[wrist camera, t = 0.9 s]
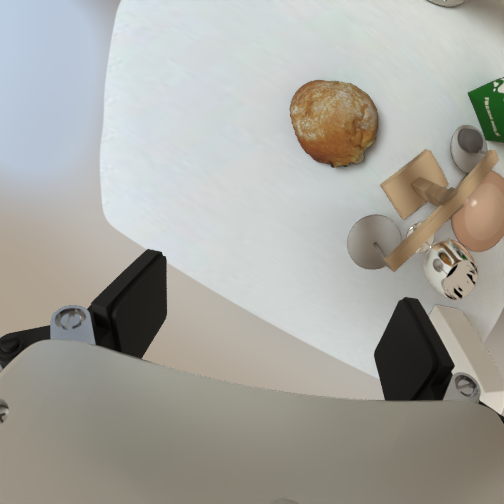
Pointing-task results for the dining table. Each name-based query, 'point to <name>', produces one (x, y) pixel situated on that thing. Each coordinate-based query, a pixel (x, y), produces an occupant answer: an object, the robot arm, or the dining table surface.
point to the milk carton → (490, 109)
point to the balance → (420, 201)
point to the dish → (481, 215)
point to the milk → (469, 354)
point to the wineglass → (448, 266)
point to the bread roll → (334, 121)
